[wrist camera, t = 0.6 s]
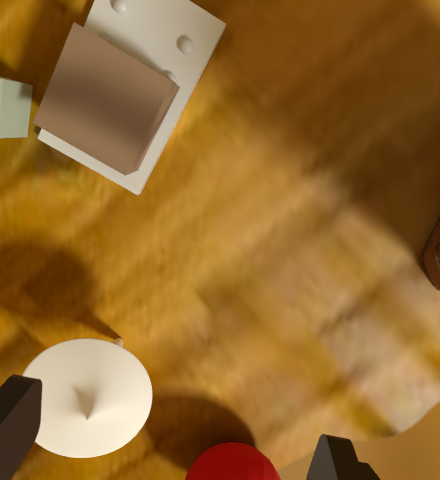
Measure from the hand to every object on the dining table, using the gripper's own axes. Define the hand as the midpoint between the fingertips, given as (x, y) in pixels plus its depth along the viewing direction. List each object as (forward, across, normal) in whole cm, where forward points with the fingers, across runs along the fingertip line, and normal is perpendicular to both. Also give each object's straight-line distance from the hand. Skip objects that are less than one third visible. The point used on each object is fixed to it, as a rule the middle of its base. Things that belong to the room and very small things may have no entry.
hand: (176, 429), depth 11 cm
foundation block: (+25, +11, -8) cm, 28 cm away
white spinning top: (+26, +8, +15) cm, 31 cm away
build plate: (+26, +10, -10) cm, 29 cm away
